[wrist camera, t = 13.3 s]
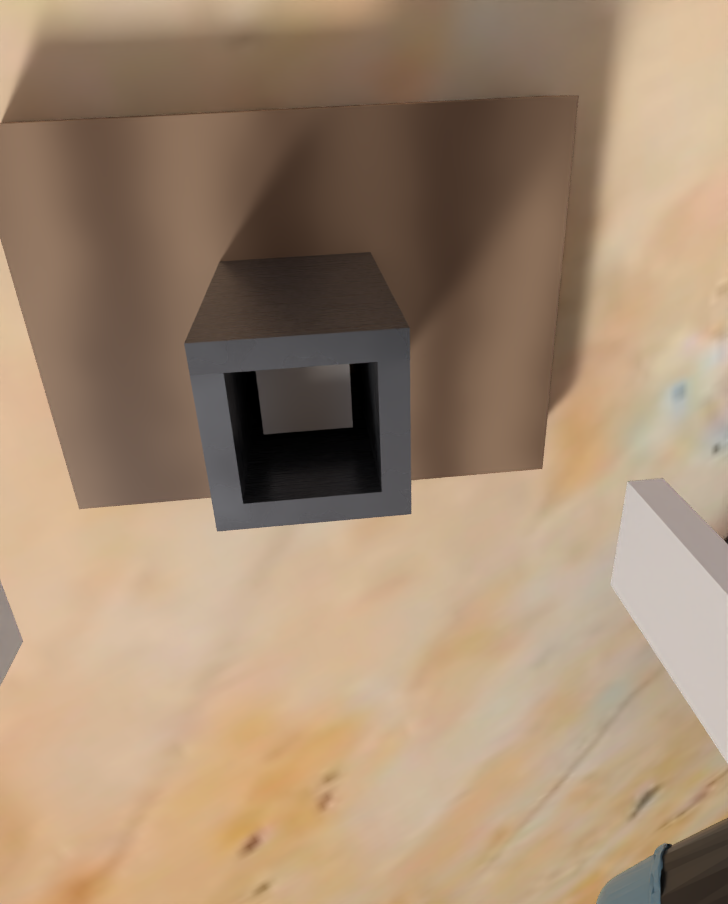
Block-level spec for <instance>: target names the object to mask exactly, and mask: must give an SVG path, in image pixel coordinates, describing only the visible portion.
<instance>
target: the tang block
mask: <svg viewBox="0 0 728 904" xmlns="http://www.w3.org/2000/svg"><path fill="white" fill-rule="evenodd" d="M578 97H579V96H536V97H516V98H495V99H475V100H455V101H435V102H414V103H394V104H374V105H353V106H333V107H313V108H292V109H272V110H252V111H231V112H211V113H191V114H170V115H150V116H130V117H109V118H89V119H69V120H49V121H28V122H8V123H0V239H1V242H2V245H3V249H4V252H5V256H6V259H7V263H8V266H9V269H10V273H11V276H12V280H13V283H14V287H15V290H16V293H17V297H18V300H19V304H20V307H21V311H22V314H23V317H24V321H25V324H26V328H27V331H28V335H29V338H30V341H31V345H32V348H33V352H34V355H35V359H36V362H37V365H38V369H39V372H40V376H41V379H42V383H43V386H44V389H45V393H46V396H47V400H48V403H49V407H50V410H51V413H52V417H53V420H54V424H55V427H56V430H57V434H58V437H59V441H60V444H61V448H62V451H63V454H64V458H65V461H66V465H67V468H68V472H69V475H70V478H71V482H72V485H73V489H74V492H75V496H76V499H77V502H78V506H79V509H85V508H97V507H108V506H120V505H131V504H143V503H154V502H166V501H177V500H189V499H200V498H211V493H210V488H209V482H208V476H207V471H206V465H205V459H204V454H203V448H202V442H201V437H200V431H199V425H198V420H197V414H196V408H195V403H194V397H193V391H192V386H191V380H190V374H189V369H188V363H187V357H186V352H185V346H184V343H185V340H186V338H187V336H188V333H189V331H190V329H191V326H192V324H193V322H194V319H195V317H196V315H197V312H198V310H199V308H200V306H201V303H202V301H203V299H204V296H205V294H206V292H207V289H208V287H209V285H210V282H211V280H212V278H213V275H214V273H215V271H216V268H217V266H218V264H219V261H234V260H250V259H266V258H282V257H298V256H314V255H330V254H346V253H362V252H371V254H372V256H373V258H374V260H375V262H376V264H377V266H378V268H379V269H380V271H381V273H382V275H383V277H384V279H385V281H386V283H387V285H388V287H389V289H390V291H391V293H392V295H393V296H394V298H395V300H396V302H397V304H398V306H399V308H400V310H401V312H402V314H403V316H404V318H405V320H406V321H407V323H408V325H409V327H410V416H411V480H419V479H430V478H441V477H453V476H464V475H476V474H487V473H499V472H510V471H522V470H533V469H542V466H543V456H544V446H545V436H546V425H547V415H548V405H549V395H550V384H551V374H552V364H553V354H554V343H555V333H556V323H557V312H558V302H559V292H560V282H561V271H562V261H563V251H564V241H565V230H566V220H567V210H568V200H569V189H570V179H571V169H572V158H573V148H574V138H575V128H576V117H577V107H578ZM350 373H354V364H340V365H326V366H313V367H299V368H286V369H272V370H258V371H256V377H257V385H258V393H259V401H260V409H261V417H262V425H263V432H264V434H275V433H288V432H300V431H312V430H325V429H337V428H349V427H353V420H352V402H351V384H350Z"/></svg>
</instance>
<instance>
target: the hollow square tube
mask: <svg viewBox="0 0 728 904" xmlns="http://www.w3.org/2000/svg"><path fill="white" fill-rule="evenodd" d="M184 346H185V352H186V357H187V363H188V369H189V374H190V380H191V386H192V391H193V397H194V403H195V408H196V414H197V420H198V425H199V431H200V437H201V442H202V448H203V454H204V459H205V465H206V471H207V476H208V482H209V488H210V493H211V499H212V505H213V510H214V516H215V522H216V527H217V531H226V530H238V529H249V528H260V527H271V526H283V525H294V524H305V523H316V522H328V521H339V520H350V519H361V518H373V517H384V516H395V515H406V514H411V416H410V327H409V325H408V323H407V321H406V320H405V318H404V316H403V314H402V312H401V310H400V308H399V306H398V304H397V302H396V300H395V298H394V296H393V295H392V293H391V291H390V289H389V287H388V285H387V283H386V281H385V279H384V277H383V275H382V273H381V271H380V269H379V268H378V266H377V264H376V262H375V260H374V258H373V256H372V254H371V252H362V253H346V254H330V255H314V256H298V257H282V258H266V259H250V260H234V261H219V264H218V266H217V268H216V271H215V273H214V275H213V278H212V280H211V282H210V285H209V287H208V289H207V292H206V294H205V296H204V299H203V301H202V303H201V306H200V308H199V310H198V312H197V315H196V317H195V319H194V322H193V324H192V326H191V329H190V331H189V333H188V336H187V338H186V340H185V343H184ZM340 364H354V373H350V384H351V402H352V420H353V427H349V428H337V429H325V430H312V431H300V432H288V433H275V434H264V432H263V425H262V417H261V409H260V401H259V393H258V385H257V377H256V371H258V370H272V369H286V368H299V367H313V366H326V365H340Z"/></svg>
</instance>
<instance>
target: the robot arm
mask: <svg viewBox="0 0 728 904" xmlns="http://www.w3.org/2000/svg"><path fill="white" fill-rule="evenodd" d="M611 587H612V588H613V590H614V591H615V593H616V594H617V596H618V597H619V599H620V600H621V602H622V603H623V605H624V606H625V608H626V609H627V611H628V612H629V614H630V616H631V617H632V619H633V620H634V622H635V623H636V625H637V626H638V628H639V629H640V631H641V632H642V634H643V635H644V637H645V638H646V640H647V641H648V643H649V644H650V646H651V648H652V649H653V651H654V652H655V654H656V655H657V657H658V658H659V660H660V661H661V663H662V664H663V666H664V667H665V669H666V670H667V672H668V673H669V675H670V676H671V678H672V680H673V681H674V683H675V684H676V686H677V687H678V689H679V690H680V692H681V693H682V695H683V696H684V698H685V699H686V701H687V702H688V704H689V705H690V707H691V708H692V710H693V712H694V713H695V715H696V716H697V718H698V719H699V721H700V722H701V724H702V725H703V727H704V728H705V730H706V731H707V733H708V734H709V736H710V737H711V739H712V740H713V742H714V744H715V745H716V747H717V748H718V750H719V751H720V753H721V754H722V756H723V757H724V759H725V760H726V762H727V763H728V540H727V541H726V542H725V541H724V540H723V539H722V538H721V537H720V536H719V535H718V534H717V533H716V532H715V531H714V530H713V529H712V528H711V527H710V526H709V525H708V524H707V523H706V522H705V521H704V520H703V519H702V517H701V516H700V515H699V514H698V513H697V512H696V511H695V510H694V509H693V508H692V507H691V506H690V505H689V504H688V503H687V502H686V501H685V500H684V499H683V498H682V497H681V496H680V495H679V494H678V493H677V492H676V491H675V490H674V489H673V488H672V487H671V486H670V485H669V484H668V483H667V482H666V481H665V480H664V479H663V478H660V479H648V480H636V481H628V482H627V488H626V494H625V500H624V506H623V512H622V518H621V524H620V531H619V537H618V543H617V549H616V555H615V561H614V567H613V573H612V579H611ZM22 642H23V640H22V637H21V634H20V632H19V629H18V626H17V624H16V621H15V618H14V616H13V613H12V610H11V608H10V605H9V602H8V600H7V597H6V594H5V592H4V589H3V586H2V584H1V581H0V685H1V683H2V681H3V679H4V678H5V676H6V674H7V672H8V670H9V668H10V666H11V664H12V662H13V660H14V658H15V656H16V654H17V652H18V650H19V648H20V646H21V644H22ZM596 904H728V818H726V819H724V820H722V821H720V822H718V823H716V824H714V825H712V826H710V827H708V828H706V829H704V830H702V831H700V832H698V833H696V834H694V835H692V836H690V837H688V838H686V839H684V840H682V841H680V842H678V843H676V844H674V845H671V844H666V843H664V844H662V845H660V846H659V847H658V848H657V849H656V850H655V852H654V855H652V856H650V857H648V858H647V859H645V860H643V861H641V862H640V863H638V864H636V865H634V866H633V867H631V868H629V869H627V870H626V871H624V872H622V873H620V874H619V875H617V876H615V877H614V878H612V879H611V880H610V881H609V882H608V883H607V884H606V885H605V886H604V887H603V889H602V890H601V892H600V894H599V897H598V899H597V903H596Z"/></svg>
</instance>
